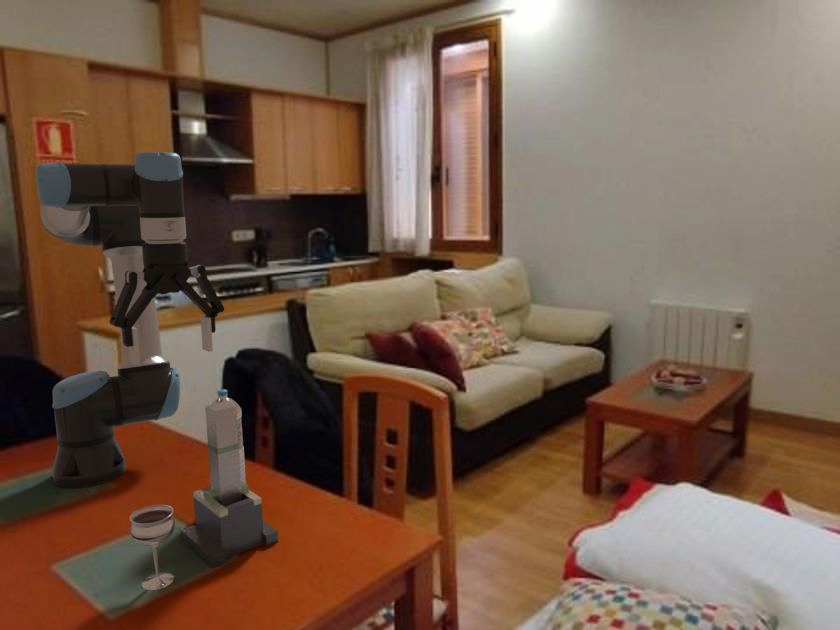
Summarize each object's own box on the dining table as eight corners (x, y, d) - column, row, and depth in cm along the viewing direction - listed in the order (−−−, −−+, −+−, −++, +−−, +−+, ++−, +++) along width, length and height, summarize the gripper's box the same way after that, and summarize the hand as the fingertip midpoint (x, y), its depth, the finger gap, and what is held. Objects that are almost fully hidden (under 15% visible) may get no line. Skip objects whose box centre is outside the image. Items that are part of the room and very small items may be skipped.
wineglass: (176, 590, 105) (170, 521, 103) (131, 596, 104) (124, 526, 102) (182, 567, 112) (177, 502, 109) (140, 572, 110) (134, 506, 108)
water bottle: (237, 517, 129) (229, 396, 125) (206, 514, 130) (197, 394, 126) (253, 501, 136) (246, 386, 131) (223, 498, 137) (215, 385, 133)
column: (214, 520, 115) (206, 413, 112) (204, 512, 118) (196, 407, 115) (250, 507, 120) (244, 404, 117) (240, 500, 123) (234, 399, 120)
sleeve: (181, 539, 121) (178, 494, 119) (244, 516, 129) (242, 474, 128) (212, 567, 111) (208, 519, 110) (278, 541, 120) (275, 495, 118)
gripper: (97, 247, 104) (109, 374, 108) (238, 238, 121) (244, 348, 125) (82, 244, 109) (94, 365, 114) (219, 236, 126) (225, 341, 131)
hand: (172, 356), depth 120 cm, fingers open, 13 cm apart
